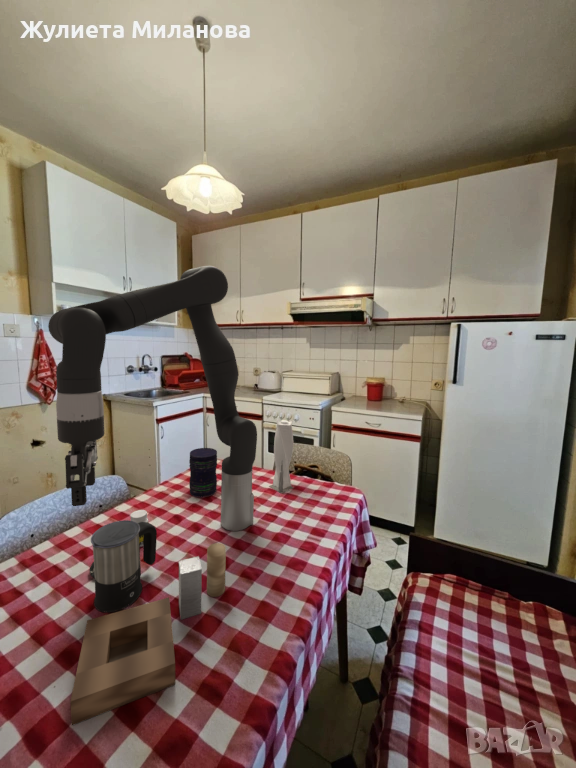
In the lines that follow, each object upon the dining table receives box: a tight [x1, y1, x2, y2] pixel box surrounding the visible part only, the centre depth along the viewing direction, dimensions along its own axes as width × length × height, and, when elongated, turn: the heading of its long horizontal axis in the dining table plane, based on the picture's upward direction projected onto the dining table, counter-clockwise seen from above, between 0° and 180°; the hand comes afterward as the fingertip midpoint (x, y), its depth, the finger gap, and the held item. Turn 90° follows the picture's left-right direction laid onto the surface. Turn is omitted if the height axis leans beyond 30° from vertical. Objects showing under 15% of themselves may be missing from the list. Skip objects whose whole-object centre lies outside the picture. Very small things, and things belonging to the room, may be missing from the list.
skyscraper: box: [268, 415, 295, 494], centre depth 120 cm, size 8×8×28 cm
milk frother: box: [89, 519, 158, 613], centre depth 69 cm, size 14×16×15 cm
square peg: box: [178, 555, 203, 621], centre depth 64 cm, size 4×4×10 cm
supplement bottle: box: [130, 509, 150, 548], centre depth 84 cm, size 5×5×8 cm
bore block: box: [69, 596, 176, 726], centre depth 53 cm, size 14×14×4 cm
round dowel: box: [206, 542, 227, 598], centre depth 69 cm, size 4×4×10 cm
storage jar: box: [188, 447, 218, 498], centre depth 114 cm, size 10×10×15 cm
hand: (84, 494), depth 62 cm, fingers open, 8 cm apart
